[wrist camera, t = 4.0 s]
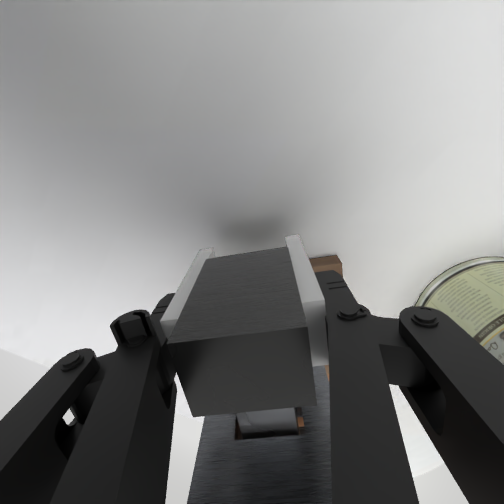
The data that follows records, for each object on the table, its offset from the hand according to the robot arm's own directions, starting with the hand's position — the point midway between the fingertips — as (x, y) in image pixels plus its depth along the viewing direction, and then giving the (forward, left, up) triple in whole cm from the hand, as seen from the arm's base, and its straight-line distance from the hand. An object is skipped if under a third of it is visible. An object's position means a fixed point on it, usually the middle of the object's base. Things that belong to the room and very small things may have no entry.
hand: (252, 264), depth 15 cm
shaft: (+8, 0, +2) cm, 9 cm away
